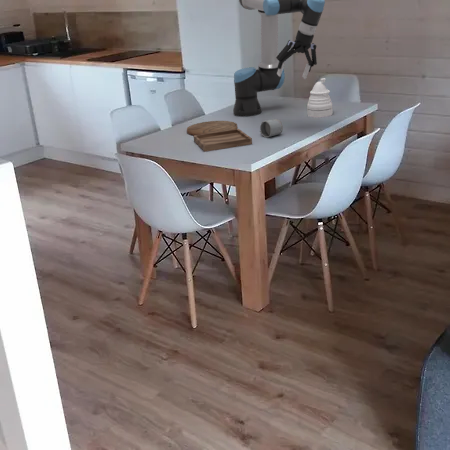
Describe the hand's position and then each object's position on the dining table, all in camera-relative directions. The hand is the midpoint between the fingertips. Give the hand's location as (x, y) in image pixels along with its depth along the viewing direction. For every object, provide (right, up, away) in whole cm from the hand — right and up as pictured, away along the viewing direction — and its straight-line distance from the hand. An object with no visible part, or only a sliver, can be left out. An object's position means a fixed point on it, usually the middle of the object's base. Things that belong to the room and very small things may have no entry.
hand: (291, 76), depth 291 cm
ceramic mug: (-10, -27, +1) cm, 29 cm away
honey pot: (+18, -12, +32) cm, 38 cm away
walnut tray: (-32, -31, -4) cm, 45 cm away
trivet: (-37, -22, +20) cm, 47 cm away
